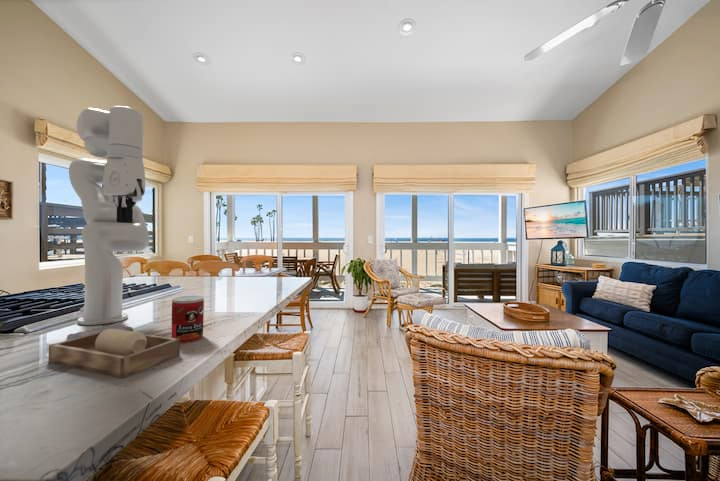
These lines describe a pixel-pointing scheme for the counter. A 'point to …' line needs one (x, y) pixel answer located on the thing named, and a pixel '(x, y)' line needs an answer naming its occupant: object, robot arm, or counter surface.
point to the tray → (112, 355)
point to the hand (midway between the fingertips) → (124, 222)
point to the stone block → (81, 334)
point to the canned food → (187, 318)
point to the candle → (120, 342)
